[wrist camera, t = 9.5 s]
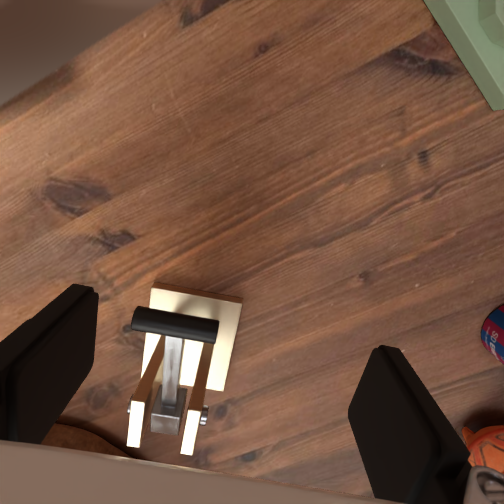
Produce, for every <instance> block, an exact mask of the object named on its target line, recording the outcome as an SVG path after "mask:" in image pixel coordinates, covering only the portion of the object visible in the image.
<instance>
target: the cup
mask: <svg viewBox="0 0 504 504" xmlns="http://www.w3.org/2000/svg"><path fill="white" fill-rule="evenodd" d="M481 339H482V342H483V345H484V346H485V347H486V349H487V350H488V351H489V352H491V353H492V354H493V355H494V356H495V357H496V358H497V359H498V360H499V361H500V362H501V363H503V364H504V305H503V306H501V307H499V308H498V309H496V310H495V311H494V312H492V313H491V314H490V315H489V317H488V318H487V319H486V321H485V322H484V325H483V327H482V331H481Z"/></svg>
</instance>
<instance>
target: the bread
mask: <svg viewBox="0 0 504 504" xmlns="http://www.w3.org/2000/svg"><path fill="white" fill-rule="evenodd" d="M40 445H46V446H53V447H60V448H67V449H74V450H81V451H88V452H95V453H101V454H107V455H114V456H120V457H126V458H132V457H130V456H129V455H127V454H126V453H124V452H123V451H121V450H119V449H118V448H116V447H114V446H113V445H111V444H109V443H108V442H107V441H105V440H104V439H102V438H101V437H99V436H97V435H95V434H94V433H91V432H88V431H86V430H83V429H80V428H76V427H73V426H68V425H62V424H55V423H54V425H53V426H52V428H51V429H50V431H49V432H48V434H47V435H46V437H45V438H44V440H43V441H42V442H41V444H40Z"/></svg>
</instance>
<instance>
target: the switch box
mask: <svg viewBox="0 0 504 504" xmlns="http://www.w3.org/2000/svg"><path fill="white" fill-rule="evenodd" d="M423 1H424V2H425V4H426V5H427V7H428V9H429V10H430V12H431V13H432V15H433V16H434V18H435V20H436V21H437V23H438V24H439V26H440V28H441V29H442V31H443V32H444V34H445V35H446V37H447V39H448V40H449V42H450V43H451V45H452V46H453V48H454V50H455V51H456V53H457V54H458V56H459V58H460V59H461V61H462V62H463V64H464V65H465V67H466V69H467V70H468V72H469V73H470V75H471V77H472V78H473V80H474V81H475V83H476V84H477V86H478V88H479V89H480V91H481V92H482V94H483V96H484V97H485V99H486V100H487V102H488V103H489V105H490V107H491V108H492V110H504V0H423Z"/></svg>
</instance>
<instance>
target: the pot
mask: <svg viewBox="0 0 504 504" xmlns="http://www.w3.org/2000/svg"><path fill="white" fill-rule="evenodd" d="M462 434H463V437H464V439H465V442H466V444H467V449H468V450H469V452H470V453H471V455H470V457H469V458H468V461H469V462H470V464H471V465H472V467H473V466H476V465H482V466H487V467H490V468H493V469H495V470H497V471H499V472H500V473H502V474H504V425H497V426H489V427H485V428H483V429H481V430H479V431H477V432H476V433H474V432H473V431H471V430H469V429H468V428H467V427H466V426H465V427H464V428H463V429H462Z"/></svg>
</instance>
